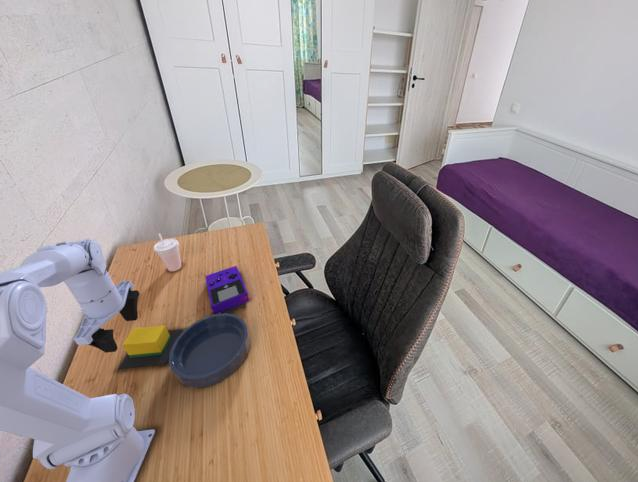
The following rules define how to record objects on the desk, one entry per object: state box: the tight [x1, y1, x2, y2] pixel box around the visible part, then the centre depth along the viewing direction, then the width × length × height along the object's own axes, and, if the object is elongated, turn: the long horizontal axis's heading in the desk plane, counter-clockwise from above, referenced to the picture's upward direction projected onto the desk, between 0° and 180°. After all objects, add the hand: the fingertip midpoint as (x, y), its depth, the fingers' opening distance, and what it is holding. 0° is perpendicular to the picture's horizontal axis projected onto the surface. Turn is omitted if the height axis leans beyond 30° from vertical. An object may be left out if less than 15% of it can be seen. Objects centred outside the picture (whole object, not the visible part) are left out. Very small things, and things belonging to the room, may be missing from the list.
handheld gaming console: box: [204, 265, 250, 315], centre depth 84 cm, size 9×5×15 cm
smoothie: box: [153, 232, 182, 272], centre depth 89 cm, size 6×6×14 cm
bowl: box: [168, 313, 251, 389], centre depth 68 cm, size 16×16×4 cm
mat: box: [118, 328, 184, 370], centre depth 69 cm, size 9×10×1 cm
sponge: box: [122, 325, 171, 358], centre depth 68 cm, size 4×7×5 cm, turn 99°
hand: (122, 334), depth 63 cm, fingers open, 7 cm apart
